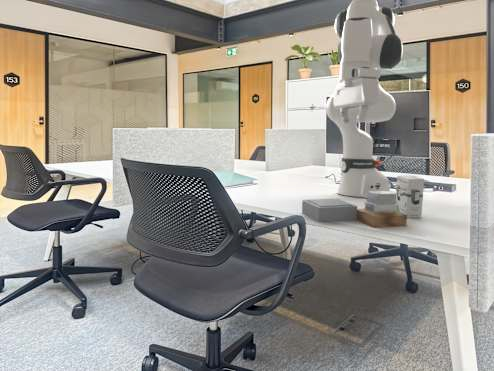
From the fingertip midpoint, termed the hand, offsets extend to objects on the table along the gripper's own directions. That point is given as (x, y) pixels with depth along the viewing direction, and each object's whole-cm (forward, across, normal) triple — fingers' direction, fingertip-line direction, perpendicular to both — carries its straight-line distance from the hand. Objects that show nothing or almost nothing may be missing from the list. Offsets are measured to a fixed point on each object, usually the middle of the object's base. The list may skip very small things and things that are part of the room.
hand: (352, 123), depth 121 cm
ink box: (+28, +3, +19) cm, 33 cm away
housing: (+25, +10, +5) cm, 27 cm away
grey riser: (+28, 0, -6) cm, 28 cm away
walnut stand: (+28, +10, +5) cm, 30 cm away
